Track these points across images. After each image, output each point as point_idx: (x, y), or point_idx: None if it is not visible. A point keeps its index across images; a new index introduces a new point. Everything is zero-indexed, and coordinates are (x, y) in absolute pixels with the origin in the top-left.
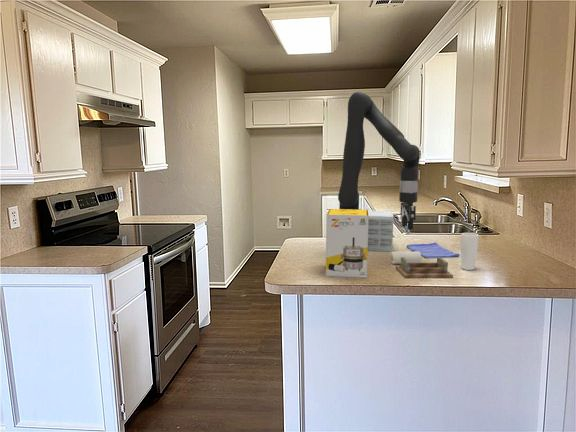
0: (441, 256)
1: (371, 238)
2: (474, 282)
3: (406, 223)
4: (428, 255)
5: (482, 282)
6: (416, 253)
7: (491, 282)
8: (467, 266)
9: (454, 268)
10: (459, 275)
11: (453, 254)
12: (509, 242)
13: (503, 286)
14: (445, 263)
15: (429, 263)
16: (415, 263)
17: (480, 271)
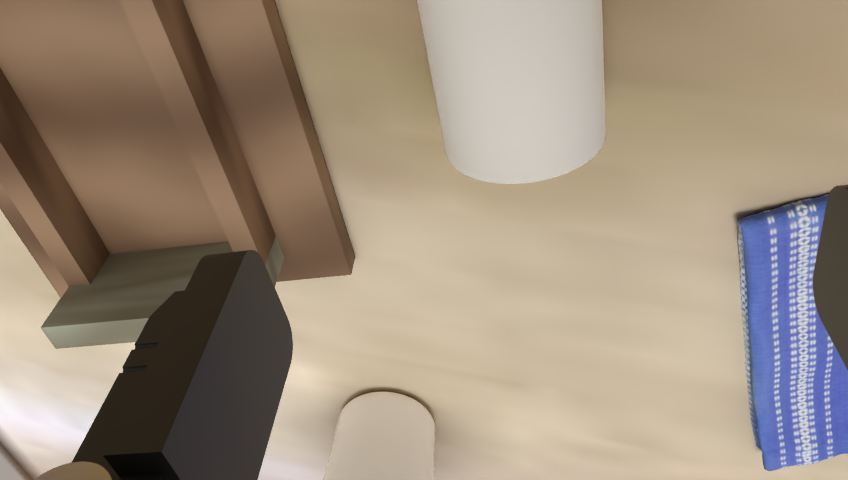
0: (752, 346)
1: None
2: (36, 374)
3: (845, 341)
4: (802, 251)
5: (63, 409)
6: (472, 133)
7: None
8: (335, 431)
9: (378, 349)
10: None
11: (795, 435)
12: None
13: (37, 469)
14: (49, 324)
15: (210, 199)
16: (145, 52)
17: None
